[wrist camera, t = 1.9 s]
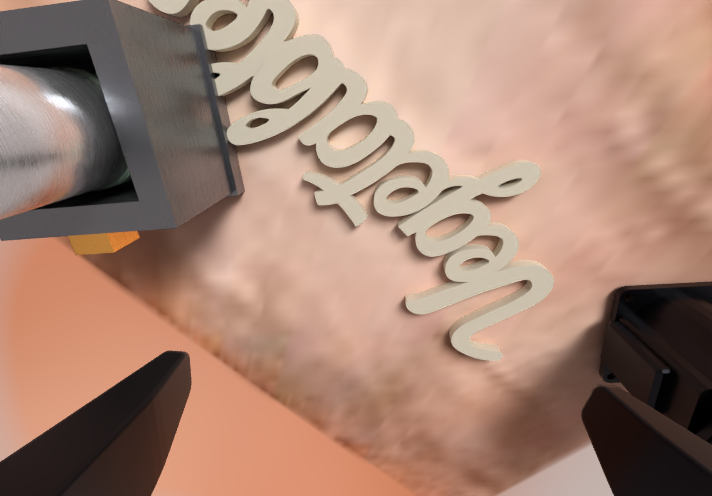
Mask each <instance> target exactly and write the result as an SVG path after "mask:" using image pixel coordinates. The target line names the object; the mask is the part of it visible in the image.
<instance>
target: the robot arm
mask: <svg viewBox="0 0 712 496" xmlns="http://www.w3.org/2000/svg"><path fill="white" fill-rule="evenodd" d="M627 294H629V296H627V297H625V296H626V295H627ZM624 297H625V298H624ZM601 359H602V360H601V365H600V370H599V375H600V376H601V377H602V379H603V380H604V381H605V382H609V383H616V382H621V383H622V384H623V385H624V387H625V388H626V389H627V390H628V391H629V393H630V394H631V395H630V394H629V393H627V392H626V391H624V390H622V389H621V388H619V387H616V386H610V385H597V386H596V387H595V388H594V389H593V391H592V392H591V394H590V396H589V398H588V400H587V401H586V403H585V405H584V407H583V409H582V413H581V416H582V421H583V424H584V426H585V428H586V431H587V433H588V436H589V438H590V440H591V443H592V445H593V448H594V450H595V452H596V455H597V457H598V460H599V462H600V464H601V467H602V469H603V472H604V474H605V476H606V478H607V481H608V483H609V486H610V488H611V490H612V492H613V494H614V496H712V282H697V283H677V284H657V285H637V286H624V287H621V288H619V289H618V290H617V291H616V293H615V297H614V302H613V307H612V312H611V316H610V321H609V324H608V325H607V330H606V335H605V340H604V344H603V349H602V354H601ZM610 373H611V374H610ZM608 374H609V375H608ZM190 389H191V369H190V357H189V354H188V353H186V352H182V351H166V352H164V353H162V354H161V355H159V356H158V357H156V358H155V359H153V360H152V361H151V362H149V363H147V364H146V365H144V366H143V367H141V368H140V369H139V370H137V371H135V372H134V373H132V374H131V375H129V376H128V377H126V378H125V379H123V380H122V381H120V382H119V383H117V384H116V385H115V386H113V387H112V388H110V389H108V390H107V391H105V392H104V393H103V394H101V395H100V396H98V397H97V398H95V399H94V400H92V401H91V402H89V403H88V404H86V405H85V406H83V407H82V408H80V409H79V410H77V411H76V412H74V413H73V414H71V415H70V416H68V417H67V418H66V419H64V420H62V421H61V422H59V423H58V424H56V425H55V426H53V427H52V428H50V429H49V430H47V431H46V432H44V433H43V434H41V435H40V436H38V437H37V438H35V439H34V440H32V441H31V442H29V443H28V444H26V445H25V446H23V447H22V448H20V449H19V450H17V451H16V452H14V453H13V454H11V455H10V456H8V457H7V458H5V459H4V460H2V461H1V462H0V496H151V494H152V492H153V490H154V488H155V485H156V484H157V481H158V479H159V477H160V474H161V472H162V470H163V467H164V465H165V462H166V459H167V457H168V453H169V451H170V448H171V445H172V442H173V439H174V436H175V433H176V431H177V428H178V425H179V422H180V419H181V416H182V414H183V411H184V408H185V405H186V402H187V399H188V396H189V393H190Z"/></svg>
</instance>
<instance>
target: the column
mask: <svg viewBox="0 0 712 496" xmlns="http://www.w3.org/2000/svg"><path fill="white" fill-rule="evenodd" d="M131 180H132V178H131V175H130V172H129V169H128V166H127V163H126V160H125V157H124V154H123V151H122V148H121V145H120V142H119V139H118V136H117V133H116V130H115V127H114V124H113V121H112V118H111V115H110V112H109V109H108V106H107V103H106V100H105V97H104V94H103V91H102V88H101V85H100V82H99V79H98V76H97V73H96V70H88V69H78V68H68V67H50V68H34V67H23V66H12V65H0V220H1V219H4V218H7V217H10V216H13V215H16V214H20V213H23V212H26V211H29V210H32V209H35V208H38V207H42V206H45V205H48V204H51V203H54V202H57V201H60V200H63V199H67V198H70V197H73V196H76V195H79V194H82V193H85V192H89V191H92V190H102V189H107V188H110V187H113V186H116V185H119V184H122V183H125V182H128V181H131Z"/></svg>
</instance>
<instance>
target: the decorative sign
mask: <svg viewBox="0 0 712 496" xmlns="http://www.w3.org/2000/svg"><path fill="white" fill-rule="evenodd" d="M149 1H150V3H151V4H152V5H153V6H154V7H155V8H157V9H158V10H160V11H162V12H164V13H167V14H169V15H172V16H175V17H185V16H187V15H188V14H189V13H191V12H192V10H193V9H194V10H193V12H192V14H191V18H190V25H195V24H200V25H203V29H204V34H205V38H206V43H207V47H208V49H209V50H213V51H217V52H226V51H231V50H235V49H238V48H241V47H243V46H245V45H246V44H248V43H249V42H251V41H252V40H253V39H254V38H255V37H256V36H257V35H258V34H259V33H260V32H261V30H262V29H263V28H264V26H265V24H266V23H267V21H268V19H269V17H270V15H271V13H272V12H273V15H274V21H273V24H272V26H271V28H270V30H269V31H268V33H267V34H266V36H265V37H264V38H263V40H262V41H261V42H260V43H259V44H258V45H257V46H256V47H255V48H254V49H253V50H252V51H251V52H250V53H249V54H248V55H247V56H246V57H245V58H244V59H243V60H242V61H241V62H240V63H233V62H220V63H213V64H211V65H212V69H213V72H214V73H220V76H219V77H217V78H216V79H215V83H216V87H217V92H218V96H226V95H228V94H230V93H232V92H234V91H236V90H238V89H240V88H242V87H243V86H245V85H246V84H248V83H249V82H251V81H252V82H251V86H250V93H251V95H252V97H253V98H254V99H255V100H257V101H259V102H261V103H264V104H279V103H283V102H286V101H288V100H290V99H292V98H294V97H296V96H298V95H300V94H302V93H304V92H306V91H308V92H307V93H306V94H305V95H304V96H303V97H302V98H301V99H300V100H299V101H298V102H297V103H295V104H294V105H293V106H292V107H291V108H290V109H285V108H273V109H265V110H260V111H256V112H253V113H251V114H248V115H246V116H244V117H242V118H240V119H239V120H237V121H235V122H234V123H233V124H231V126H230V127H229V128H228V130H227V137H228V140H229V141H230V142H231V143H232V144H234V145H246V144H251V143H255V142H259V141H262V140H265V139H268V138H270V137H273V136H275V135H278V134H280V133H282V132H284V131H286V130H288V129H290V128H291V127H293V126H295V125H296V124H298V123H299V122H301V121H302V120H304V119H305V118H307V117H308V116H309V115H311V114H312V113H313V112H314V111H316V110H317V109H318V108H319V107H320V106H322V105H323V104H324V103H325V102H326V101H327V100H328V99H329V98H330V97H331V96H332V95H333V94H334V93H335V92H336V91H337V90H338V88H339V87H340V86H341V85H342V84H344V85H345V86H346V88H347V92H346V94H345V96H344V97H343V99H342V100H341V101H340V103H339V104H338V105H337V106H336V107H335V108H334V109H333V110H332V111H331V112H330V113H329V114H328V115H327V116H325V117H324V118H323V119H321V120H320V121H319V122H317V123H316V124H314V125H313V126H311V127H310V128H309V129H307V130H306V131H304V132H303V133H302V134H300V135H299V136H298V137H299V139H300V141H301V142H302V143H303V144H304V145H307V146H310V145H313V144H315V143H316V152H317V155H318V157H319V159H320V161H321V162H322V163H323V164H325V165H326V166H329V167H333V168H341V167H346V166H349V165H352V164H354V163H356V162H358V161H360V160H362V159H363V158H365V157H366V156H368V155H369V154H370V153H372V152H373V151H374V150H376V149H377V148H378V147H379V146H380V145H381V144H382V143H383V142H385V140H386V139H387V138H388V137H389V136H390V135H391V136H393V137H394V142H393V144H392V145H391V147H390V148H389V149H388V150H387V151H386V152H385V153H384V154H383V155H382V156H381V157H380V158H379V159H377V160H376V161H375V162H373V163H372V164H370V165H369V166H367V167H365V168H364V169H362V170H361V171H359V172H357V173H356V174H354V175H353V176H351V177H350V178H348V179H346V180H344V181H342V182H340V183H339V182H338V181H336V180H335V179H333V178H331V177H329V176H327V175H325V174H322V173H319V172H314V171H307V172H306V173H305V174H304V175H303V180H305V181H308V182H310V183H312V184H314V185H316V186H318V187H319V188H321V189H317V190H316V191H315V193H314V194H315V199H316V202H317V203H318V205H331V204H336V203H338V204H339V205H340V207H341V208H342V209H343V210H344V211H345V212H346V214H347V215H348V216H349V218H350V219H351V220H352V222H353V223H354V225H355V226H358V225H360V224H361V223H363V222H364V221H365V220H366V218H367V214H368V213H367V211H366V210H365V208H364V207H363V205H362V204H361V203H360V202H359V200H358V199H357V198H356V197H355V196H354V195H353V194H355V193H357V192H359V191H360V190H362V189H364V188H366V187H368V186H369V185H371V184H373V183H374V182H376V181H377V180H379V179H380V178H382V177H383V176H384V175H386V174H387V173H389V172H390V171H391V170H392V169H394V168H395V167H396V166H397V165H400V164H403V163H409V162H420V163H425V164H428V165H429V166H430V169H431V171H430V175H429V177H428V179H427V181H426V183H425V184H424V183H423V182H422V181H421V180H420V179H419V178H418V177H415V176H412V175H401V176H395V177H391V178H388V179H386V180H384V181H382V182H381V183H380V184H379V185H378V186H377V188H376V190H375V193H374V207H375V209H376V211H377V212H378V213H380V214H382V215H384V216H390V217H396V216H404V215H408V214H409V215H408V216H406V217H405V218H403V219H402V220H400V221H399V222H398V227H399V228H400V229H401V230H402V231H403V232H404V233H405V234H406V235H407V236H409V235H412V234H414V237H415V242H416V246H417V248H418V250H419V251H420V252H421V253H422V254H424V255H426V256H430V257H436V256H440V255H444V254H446V253H447V254H446V256H445V258H444V261H443V267H444V270H445V273H446V275H447V277H448V278H449V279H450V280H453V281H450V282H447V283H444V284H441V285H439V286H436V287H433V288H431V289H428V290H425V291H423V292H420V293H416V294H410V295H406V296H405V303H406V307H407V309H408V310H409V311H411V312H412V313H415V314H428V313H431V312H434V311H437V310H439V309H442V308H445V307H447V306H450V305H452V304H455V303H457V302H459V301H462V300H464V299H467V298H469V297H472V296H475V295H478V294H480V293H483V292H486V291H489V290H492V289H495V288H498V287H502V286H505V285H508V284H512V283H515V282H518V281H522V280H527V282H526V284H525V285H524V286H523V287H521V288H520V289H518V290H517V291H515V292H513V293H512V294H510V295H508V296H506V297H504V298H502V299H499V300H497V301H495V302H493V303H490V304H488V305H486V306H484V307H482V308H480V309H478V310H476V311H474V312H472V313H470V314H468V315H466V316H464V317H462V318H460V319H459V320H457V321H456V322H455V323H454V324H453V325H452V327H451V328H450V331H449V336H450V339H451V343H452V345H453V347H454V348H455V349H457V350H458V351H460V352H461V353H463V354H465V355H468V356H470V357H473V358H477V359H482V360H488V361H499V360H500V359H501V358H502V353H501V351H500V349H499V347H498V345H496V344H487V343H480V342H475V341H473V340H471V339H469V338H470V337H471V336H472V335H473V334H475V333H476V332H478V331H480V330H482V329H484V328H486V327H489V326H491V325H493V324H495V323H498V322H500V321H502V320H504V319H506V318H508V317H511V316H513V315H515V314H517V313H519V312H521V311H524V310H526V309H528V308H530V307H532V306H534V305H536V304H537V303H539V302H540V301H542V300H543V299H544V298H545V297H546V296H547V295H548V294H549V293H550V291H551V290H552V288H553V285H554V278H553V276H552V274H551V273H550V272H549V271H548V270H547V269H546V268H545V267H544V266H543V265H542V264H541V263H539V262H537V261H533V260H517V261H511V260H512V259H513V257H514V256H515V255H516V253H517V251H518V247H519V243H518V239H517V237H516V235H515V234H514V233H513V232H512V231H511V230H510V229H509V228H508V227H507V226H506V225H504V224H502V223H498V222H490V219H491V213H490V211H489V209H488V208H487V207H486V206H485V205H484V204H483V203H482V202H481V201H479V200H477V199H473V198H474V197H475V196H478V195H480V194H486V195H489V196H495V197H509V196H514V195H518V194H521V193H523V192H525V191H527V190H528V189H530V188H531V187H532V186H533V185H534V184H535V183H536V182H537V181H538V179H539V177H540V174H541V170H540V167H539V166H538V165H537V164H534V163H532V162H530V161H527V160H515V161H511V162H509V163H506V164H504V165H501V166H499V167H497V168H494V169H492V170H489V171H487V172H485V173H483V174H480V175H478V176H476V177H474V176H470V175H455V176H451V177H449V170H448V167H447V165H446V163H445V161H444V160H443V159H442V158H441V157H440V156H439V155H438V154H437V153H435V152H433V151H429V150H413V151H410V150H411V148H412V146H413V144H414V132H413V130H412V128H411V127H410V126H409V124H408V123H406V122H405V121H404V120H402V119H400V118H398V116H397V113H396V110H395V109H394V107H393V106H391V105H390V104H389V103H387V102H383V101H375V102H369V103H364V104H361V103H362V102H363V101H364V99H365V97H366V95H367V92H368V86H367V83H366V81H365V80H364V79H363V78H362V77H361V76H360V75H359V74H358V73H356V72H354V71H352V70H350V69H347V68H345V66H344V64H343V63H342V62H341V61H340V60H339V59H338V58H335V56H334V52H333V49H332V47H331V45H330V44H329V42H328V41H327V40H326V39H325V38H324V37H322V36H320V35H314V34H312V35H304V36H300V37H297V38H294V39H291V38H292V37H293V35H294V34H295V32H296V30H297V28H298V24H299V15H298V12H297V10H296V8H295V7H294V5H293V4H292V3H291V2H290V1H289V0H249V2H248V5H247V6H246V5H245V4H244V3H242V2H241V1H239V0H204V1H202V2H201V3H199V1H200V0H149ZM198 3H199V4H198ZM197 4H198V5H197ZM196 5H197V6H196ZM225 14H237V18H236V19H235V20H234V21H233V22H231V23H230V24H229V25H228V26H226V27H224V28H223V29H220V30H217V31H213V29H212V28H213V25H214V23H215V21H216V20H217V19H218V18H219V17H221V16H223V15H225ZM310 56H316V57H317V58H318V67H317V69H316V71H315V72H314V73H313V74H312V75H310V76H309V77H307V78H305V79H304V80H302V81H300V82H298V83H296V84H294V85H292V86H290V87H287V88H285V89H281V90H279V89H278V88H277V87H276V82H277V81H278V79H279V78H280V77H281V76H282V75H283V74H284V73H285V72H286V71H287V70H288V69H289V68H290V67H291V66H293V65H294V64H295V63H296V62H298V61H299V60H301V59H303V58H306V57H310ZM359 115H373V116H375V117H376V118H377V123H376V125H375V127H374V128H373V130H372V131H371V132H370V133H369V134H368V135H367V136H366V137H365V138H364V139H363V140H361V141H360V142H358V143H356V144H354V145H352V146H350V147H348V148H345V149H335V148H333V147H332V146H331V145H330V143H329V139H328V138H329V135H330V133H331V132H332V131H333V130H334V129H335V128H337V127H338V126H340V125H341V124H343V123H344V122H346V121H347V120H349V119H351V118H353V117H356V116H359ZM257 118H267V119H269V121H268V122H267V123H265V124H263V125H261V126H258V127H251V123H252V122H253V121H254V120H255V119H257ZM512 179H514V180H513V181H511V182H509V183H506V184H502V183H504V182H507V181H509V180H512ZM501 184H502V185H501ZM452 186H456V187H454V188H452V189H450V190H448V191H446V192H445V193H443V194H441V195H439V194H440V193H441V192H442V190H444V189H446V188H449V187H452ZM403 187H409V188H414V189H417V190H416V191H415V192H413V193H411V194H410V195H408V196H406V197H404V198H401V199H397V200H389V199H387V196H388V195H389V194H390V193H391V192H393V191H394V190H396V189H399V188H403ZM438 195H439V196H438ZM437 196H438V197H437ZM462 213H467V214H470V216H469V218H468V219H467V220H466V221H465V222H464V223H463V224H462V225H460V226H459V227H458V228H456V229H455V230H453V231H451V232H449V233H447V234H445V235H442V236H437V237H430V236H427V235H426V234H425V232H426V230H427V229H428V228H430V227H431V226H432V225H434V224H435V223H437V222H439V221H440V220H442V219H444V218H447V217H449V216H452V215H455V214H462ZM481 235H492V236H498V237H499V242H498V244H497V246H496V248H495V249H494V250H493V251H491V250H490V249H489V248H488V247H487V246H485V245H482V244H467V243H468V242H470V241H471V240H473V239H474V238H475V237H477V236H481ZM465 244H467V245H465ZM477 257H478V258H484V259H482V260H480V261H478V262H475V263H473V264H470V265H465V266H462V265H461V264H462V263H463V262H464V261H466V260H468V259H471V258H477ZM510 261H511V262H510Z"/></svg>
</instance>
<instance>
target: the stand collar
mask: <svg viewBox="0 0 712 496" xmlns="http://www.w3.org/2000/svg"><path fill="white" fill-rule="evenodd" d="M213 63H217V61H216V56H215V52H214V51H213V50H209V49H208V47H207V43H206V38H205V34H204V29H203V25H200V24H195V25H188V26H184V25H182V24H179V23H176V22H174V21H171V20H168V19H166V18H163V17H160V16H157V15H155V14H152V13H149V12H147V11H144V10H141V9H139V8H136V7H133V6H131V5H128V4H125V3H123V2H120V1H117V0H80V1H73V2H66V3H59V4H51V5H44V6H37V7H30V8H23V9H15V10H8V11H1V12H0V65H12V66H23V67H34V68H50V67H68V68H78V69H88V70H96V73H97V76H98V79H99V82H100V85H101V88H102V91H103V94H104V97H105V100H106V103H107V106H108V109H109V112H110V115H111V118H112V121H113V124H114V127H115V130H116V133H117V136H118V139H119V142H120V145H121V148H122V151H123V154H124V157H125V160H126V163H127V166H128V169H129V172H130V175H131V178H132V180H131V181H128V182H125V183H122V184H119V185H116V186H113V187H110V188H107V189H102V190H92V191H89V192H85V193H82V194H79V195H76V196H73V197H70V198H67V199H63V200H60V201H57V202H54V203H51V204H48V205H45V206H42V207H38V208H35V209H32V210H29V211H26V212H23V213H20V214H16V215H13V216H10V217H7V218H4V219H1V220H0V239H1V241H4V240H19V239H31V238H46V237H60V236H68V238H69V240H70V243H71V245H72V247H73V250H74V252H75V254H76V255H85V254H100V253H114V252H116V251H118V250H119V249H121V248H123V247H124V246H126V245H128V244H130V243H131V242H133V241H135V240H137V239H138V238H140V237H139V234H138V231H143V230H156V229H170V228H178V227H179V226H181V225H182V224H184V223H186V222H187V221H189V220H190V219H192V218H193V217H195V216H197V215H198V214H200V213H201V212H203V211H204V210H206V209H208V208H209V207H211V206H212V205H214V204H215V203H217V202H219V201H220V200H222V199H223V198H225V197H227V196H238V195H240V194H241V193H242V192H244V191H245V190H244V186H243V181H242V176H241V172H240V167H239V163H238V158H237V153H236V149H235V145H234V144H232V143H231V142H230V141H229V140H228V137H227V130H228V128H229V127H230V121H229V116H228V112H227V107H226V102H225V98H224V96H218V92H217V87H216V83H215V79H216V78H217V77H219V76H220V75H219V73H214V72H213V69H212V65H211V64H213Z"/></svg>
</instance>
